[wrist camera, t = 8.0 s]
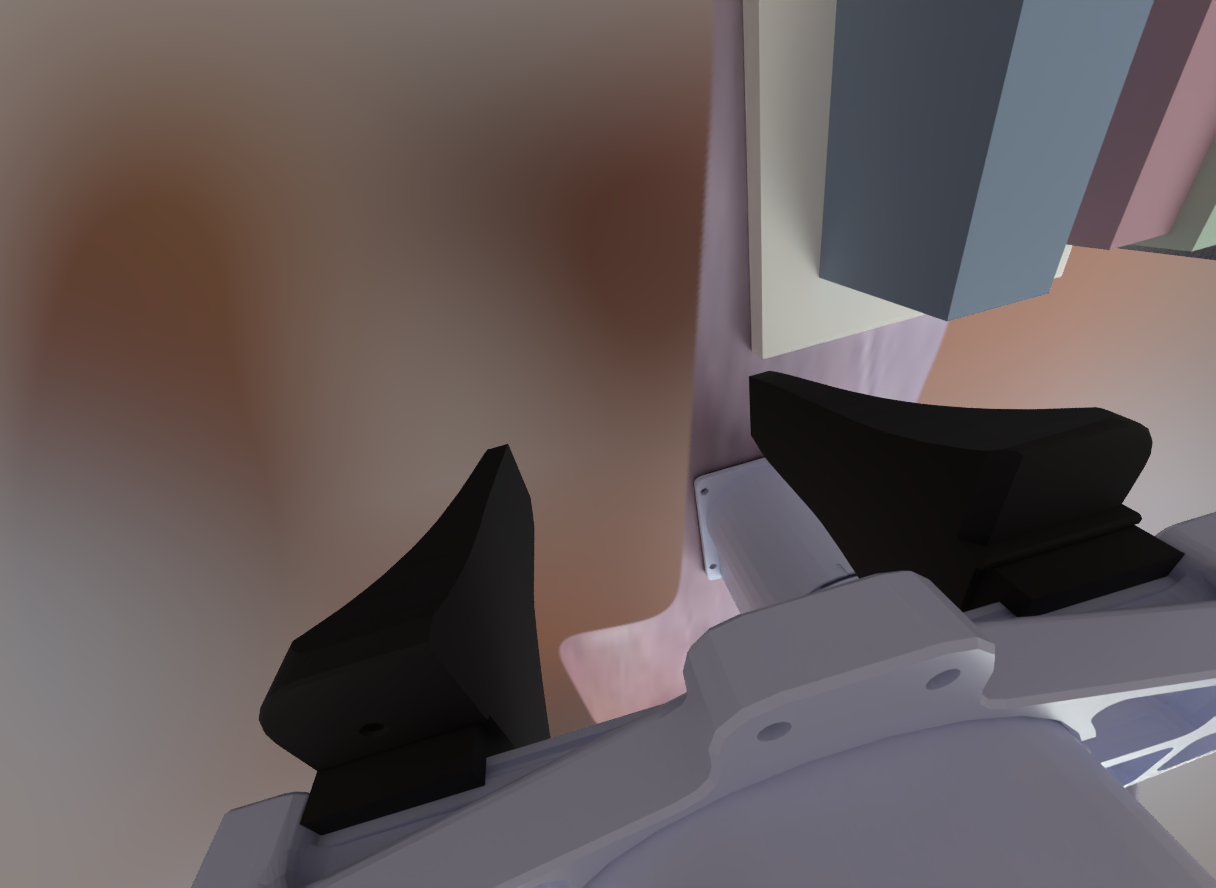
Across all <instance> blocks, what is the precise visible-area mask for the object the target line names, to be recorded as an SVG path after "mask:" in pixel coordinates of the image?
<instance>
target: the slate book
mask: <svg viewBox="0 0 1216 888" xmlns="http://www.w3.org/2000/svg"><path fill="white" fill-rule="evenodd" d="M1153 2H1154V0H837V5H836V21H835V36H834V52H833V67H832V83H831V98H830V114H829V129H828V145H827V160H826V176H825V191H824V207H823V222H822V238H821V253H820V268H819V278H822V279H824V280H827V281H830V282H833V283H836V284H839V285H842V286H845V287H848V288H851V289H854V290H857V291H860V292H863V293H866V294H869V295H871V296H874V297H877V298H880V299H883V300H886V301H889V302H892V303H895V304H898V305H901V306H904V307H907V308H910V309H913V310H916V311H918V312H921V313H924V314H927V315H930V316H933V317H936V318H939V319H942V320H945V321H950V320H954V319H957V318H961V317H964V316H968V315H971V314H975V313H979V312H983V311H986V310H990V309H993V308H997V307H1001V306H1004V305H1008V304H1011V303H1015V302H1018V301H1022V300H1026V299H1030V298H1033V297H1037V296H1041V295H1044V294H1048V293H1049V290H1050V288H1051V285H1052V282H1053V279H1054V277H1055V274H1056V271H1057V268H1058V265H1059V263H1060V260H1061V257H1062V254H1063V252H1064V249H1065V246H1066V243H1067V240H1068V238H1069V235H1070V232H1071V229H1072V227H1073V224H1074V221H1075V218H1076V215H1077V213H1078V210H1079V207H1080V204H1081V202H1082V199H1083V196H1084V193H1085V191H1086V188H1087V185H1088V182H1089V179H1090V177H1091V174H1092V171H1093V168H1094V166H1095V163H1096V160H1097V157H1098V154H1099V152H1100V149H1101V146H1102V143H1103V141H1104V138H1105V135H1106V132H1107V129H1108V127H1109V124H1110V121H1111V118H1112V116H1113V113H1114V110H1115V107H1116V104H1117V102H1118V99H1119V96H1120V93H1121V91H1122V88H1123V85H1124V82H1125V79H1126V77H1127V74H1128V71H1129V68H1130V66H1131V63H1132V60H1133V57H1134V54H1135V52H1136V49H1137V46H1138V43H1139V41H1140V38H1141V35H1142V32H1143V30H1144V27H1145V24H1146V21H1147V18H1148V16H1149V13H1150V10H1151V7H1152V5H1153Z"/></svg>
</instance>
